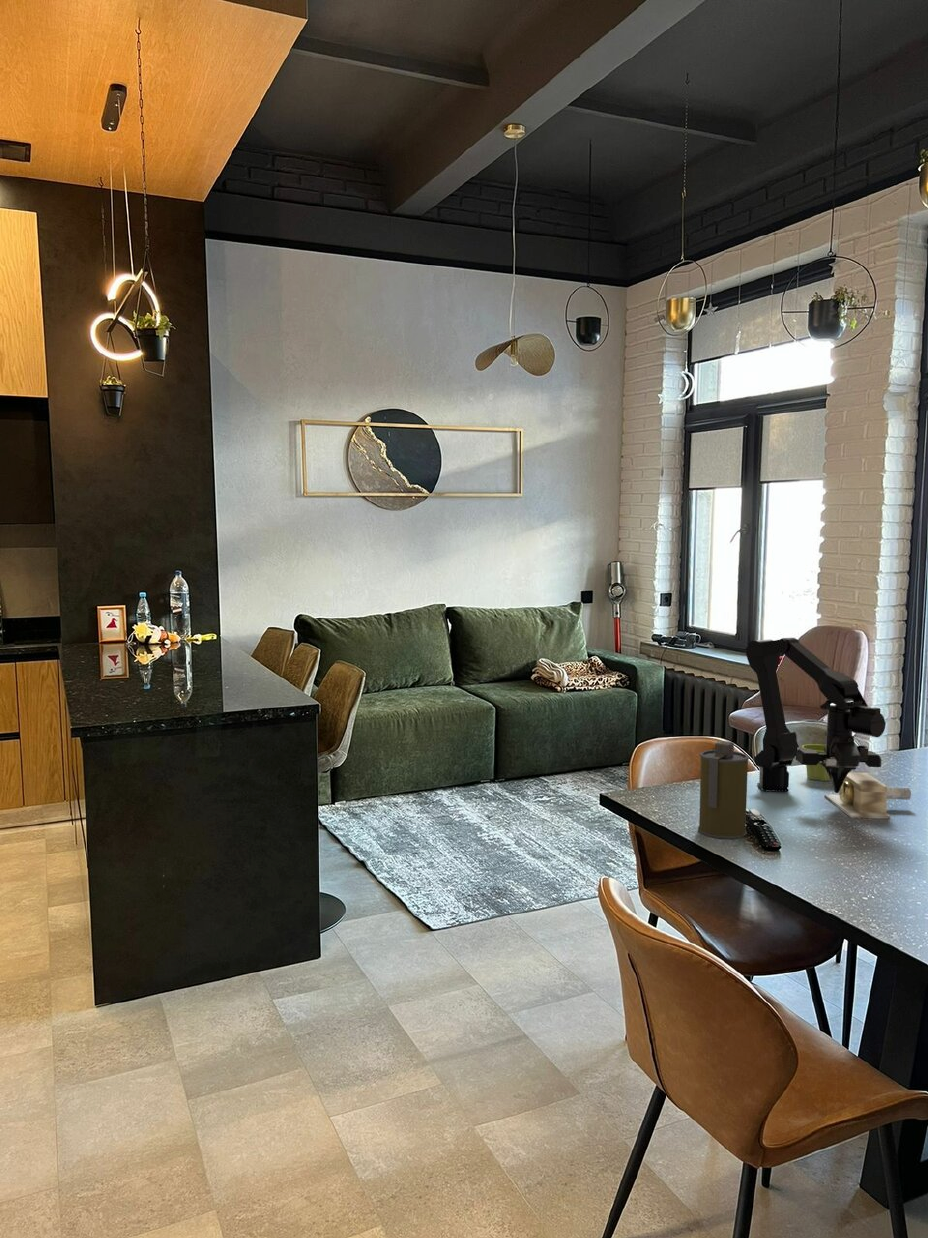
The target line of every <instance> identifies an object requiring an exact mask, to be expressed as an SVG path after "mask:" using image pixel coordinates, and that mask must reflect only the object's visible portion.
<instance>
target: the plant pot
mask: <svg viewBox="0 0 928 1238" xmlns="http://www.w3.org/2000/svg"><path fill="white" fill-rule="evenodd" d="M824 748H826V744H817V743H816V744H815V743H814V744H813V743H810V744H803V745H801V749H813V750H814V751H816V752H817V753H822V754H826V752H824ZM830 758H832V757H830ZM833 758H835V757H833ZM820 762H822V761H820ZM820 762H819V763H818V764H817V765H805V766H806V767H805V768H806V776H807V778H808V779H810V780H812V779H813V781H815V780H819V781H821V782H824V781H825V782H827V781H830V778H829V775H828V773H827V771H826V769H825V767H823V766H822V765H820Z"/></svg>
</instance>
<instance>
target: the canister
mask: <svg viewBox="0 0 928 1238" xmlns="http://www.w3.org/2000/svg"><path fill="white" fill-rule="evenodd" d="M699 756H700V784H699V787H700V788H699V821H698V823H699V824H698V825H699V826H698V827H697V831H698V832H699V833H700V834H702V835H704V836H707V837H709V838H710V837H711V838H715V839H721V840H735V839H741V838H743V837H746V835H747V834H748V833H747V830H746V829H747V828H746V826H747V802H748V801H747V800H748V799H747V798H748V796H747V795H748V794H747V792H748V763H749V759H750V757H749V755H748V754H746V753H743V752H740V751H735V743H734V742H732V741H725V740H723V741H720V742H719V741H718V742H715V745H714V747H713V748H712V749H709V750H708V749H707V750H704V751H701V752H700V754H699Z"/></svg>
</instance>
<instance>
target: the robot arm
mask: <svg viewBox="0 0 928 1238" xmlns="http://www.w3.org/2000/svg"><path fill="white" fill-rule="evenodd" d="M745 655H746V659H747V662H748V665H749V666H750V668H751V669H752V670H753V672H754V673H755V674H756V678H757V679H756V680H757V684H758V689H759V696H760V701H761V705H762V712H763V717H764V724H765V732H764V735H763V738H762V749H761V751H760V752H759V753H757V754H756V755H755V756H754V757H753V759H754V763H755V766H757V767H759V781H758V782H757V786H758V787H759V788H760V789H761V790H762V791H763V792H789V785H790V784H789V781H790V772H789V771H788V766H792V764H793V761H794V759H795V760H796V761H797V762H798V763H800V764H801V765H803V766H806V765H817V764H818V763H819V762H820V761H822V762H820V765H822V766H823V767H825V769H826V771H827V773H828V775H829V778H830V780H829V781H830V784H831V787H832V790H833V791H834V792H833V793H835V794H839V790H840V788H841V786H842V784H843V782H844V779H845V778H846V776H847V774H848V773H849V772H851V771H853V770H854V771H855V770H857V767H859V765H860V763H863V764H865V765H866V766H867V767H869V768H881V767H882V757H881V756H880V755H879V754H877V753H876V752H874V751H872V750H869V747H868V746H867V745H855V739H854V738H855V737H854V735H853V734H858V735H859V734H860V735H863V736H869V737H873V738H880V737H881V736H882V735H883V733H884V732H885V729H886V720H885V717H884V714H882V713H881V708H880V707H870V706H869V705H868V703H867V701H866V700H865V698H864V697H863V695H862V693H861V691H860V689H859V684H858V682H857V681H856V680H855V679H853V678H851V677H850V676H848V675H847V674H845V673H843V672H839V671H837V670H834V669H833V668H832V667H831V668H830V667H829V666H828V665H827V664H826V663H825V662H823V661H822V660H821V659H820V658H818V656H816V655H815V654H814V653H813V652H812V651H810V650H809V649H808V648H807V647H805V646H804V645H803V644H801V643H800V641H799V639H798V638H796V637H782V638H780V639H776V640H775V639H774V640H773V639H757V640H756V639H755V640H752V641H751V640H750V642H749V643H747V646H746V647H745ZM783 655H784V656H785V657H787V658H788V659H789V660H790V661H791V662H793V663H794V664H795V665H796V666H797V667H798V668H799V669H801V670H802V671H803V672H804V673H805V674H806V675H807V676H808V677H810V678H811V679H812V680H813V681H814V682H815V683H816V684H817V686H818V690H819V691H820V693H821V694H822V695H823V696H824V698H825V699H826V701H825V702H824V703H822V704H821V705H820V706H819V709H821V710H826V711H827V717H826V718H827V720H826V721H827V722H826V730H825V732H824V736H826V738H825V741H826V742H825V745H826V748H824V752H826V754H822V753H817V752H816V751H814V750H813V749H803V748H800V746H799V743H798V740H797V736H798V735H797V733H796V731H790V729H789V728H788V727H787V725H786V719H785V714H784V707H783V702H782V697H781V693H780V692H781V691H780V685H779V679H778V673H777V671H778V669H779V664H780V662H781V659H780V658H781V657H780V656H783ZM830 757H832V758H830ZM833 757H835V758H833Z"/></svg>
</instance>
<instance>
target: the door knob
mask: <svg viewBox="0 0 928 1238" xmlns="http://www.w3.org/2000/svg"><path fill="white" fill-rule="evenodd" d="M838 795H840V799H841V802H842V803H852V802H853V798H854V787H853V786H852V784H851V783H850V782H843V784H842V786H841V788H840V790H839V793H838ZM911 797H912V794H911V789H910V788H909V787H887V800H906V801H907V800H908V801H909V800H911Z"/></svg>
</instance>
